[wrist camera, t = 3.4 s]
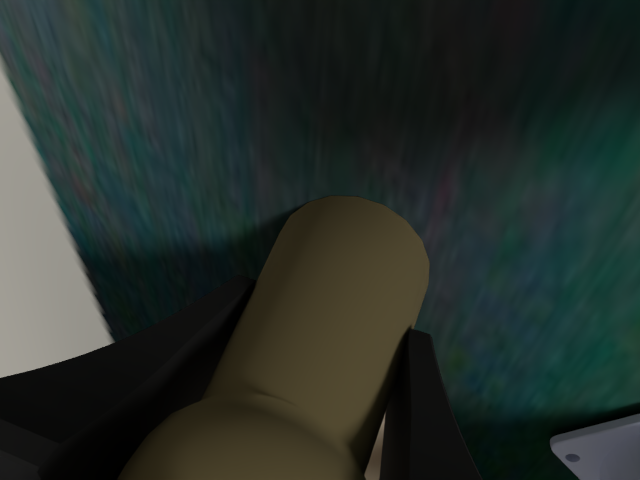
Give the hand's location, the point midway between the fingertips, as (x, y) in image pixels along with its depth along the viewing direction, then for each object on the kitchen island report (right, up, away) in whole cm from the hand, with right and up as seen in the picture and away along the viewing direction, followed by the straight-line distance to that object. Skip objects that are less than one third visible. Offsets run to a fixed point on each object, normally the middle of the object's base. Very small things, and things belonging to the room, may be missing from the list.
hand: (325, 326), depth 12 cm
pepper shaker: (+1, +2, +3) cm, 4 cm away
